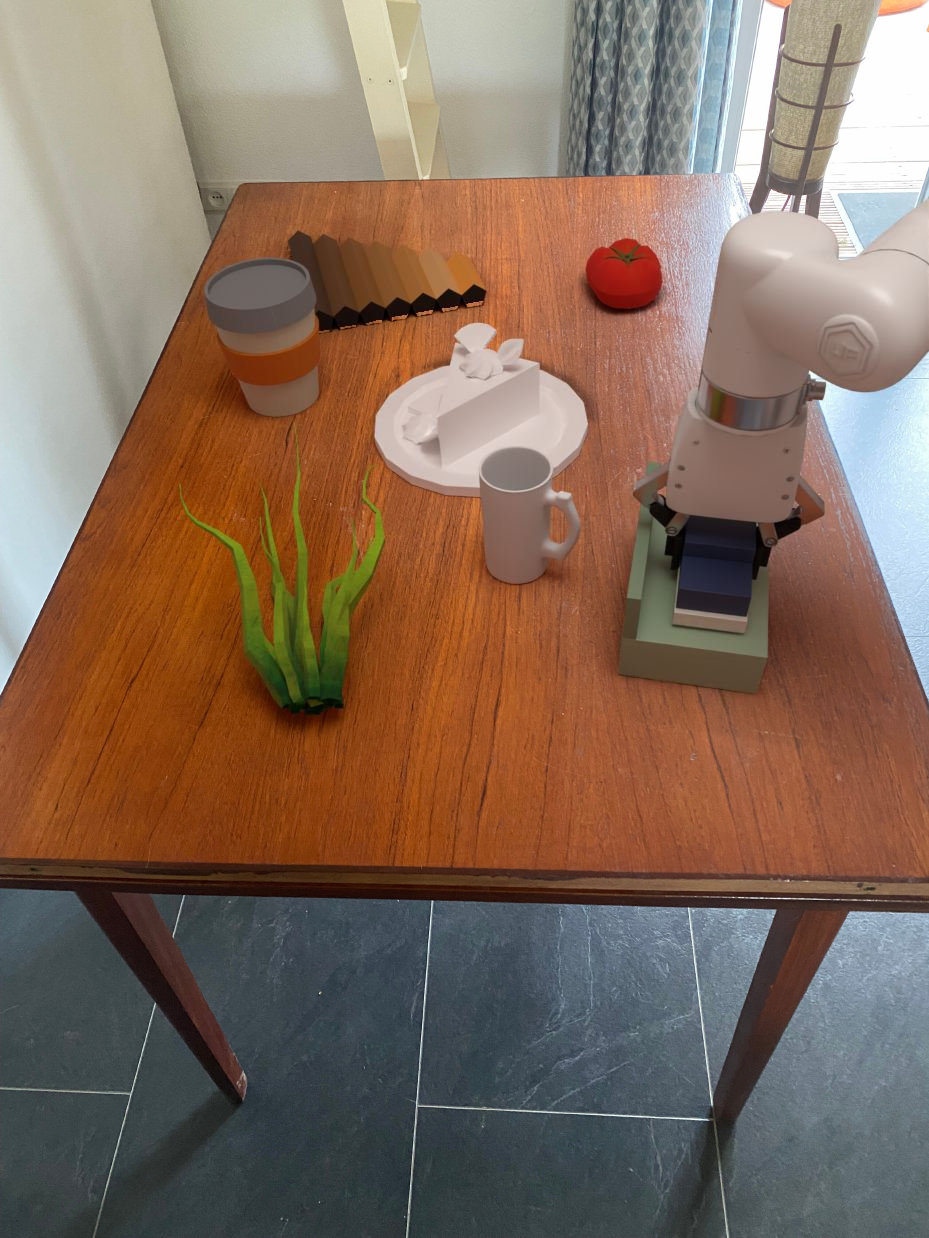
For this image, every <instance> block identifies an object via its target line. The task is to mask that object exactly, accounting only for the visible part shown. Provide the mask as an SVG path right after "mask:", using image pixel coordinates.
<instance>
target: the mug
mask: <svg viewBox="0 0 929 1238" xmlns="http://www.w3.org/2000/svg"><path fill="white" fill-rule="evenodd" d="M553 479H554V477H553V465H552V462H551V460H550V459H549V458H548V457H547V456H546V455H545V454H544V453H542V452H541V451H539V450H537V449H534V448H530V447H525V446H508V447H503V448H499V449H496V450H494V451H492V452H490V453H489V454H487V455H486V456H485V457H484V458H483V459H482V460H481V462H480V464H479V482H480V496H481V497H480V507H481V508H480V509H481V518H482V519H481V520H482V530H483V531H482V532H483V533H482V534H483V546H484V556H485V565H486V568H487V570H488V572H489V574H490V575H491V576H493V578H495V579H496V580H498V581H500V582H502V583H506V584H511V585H522V584H527V583H531V582H534V581H535V580H537V579H539V578H540V577H541V576H542V575H543V574H545V572H546V570H547V568H548V565H549V559H553V560H555V561H558V562H564V561H565V560H566V559H567V558H568V556H569V555H570V553H571V552H572V551H573V549H574V547H575V546H576V545H577V543H578V541H579V540H580V539H579V538H580V536H581V520H580V516H579V513H578V510H577V507H576V505H575V503H574V500H573V496H572V495H573V494H572V493H571V492H567V491H563V490H560V491H559V492H558V491H557V492H556V491H554V489H553ZM552 506H553V507H555V508H557V509H559V511H561V512H562V513H563V515H564V516H565V518H566V520H567V524H568V534H567V536H566V538H565V541H563V542H561V543H559V542H555V541H553V540H551V537H550V536H551V518H552V517H551V516H552Z"/></svg>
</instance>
